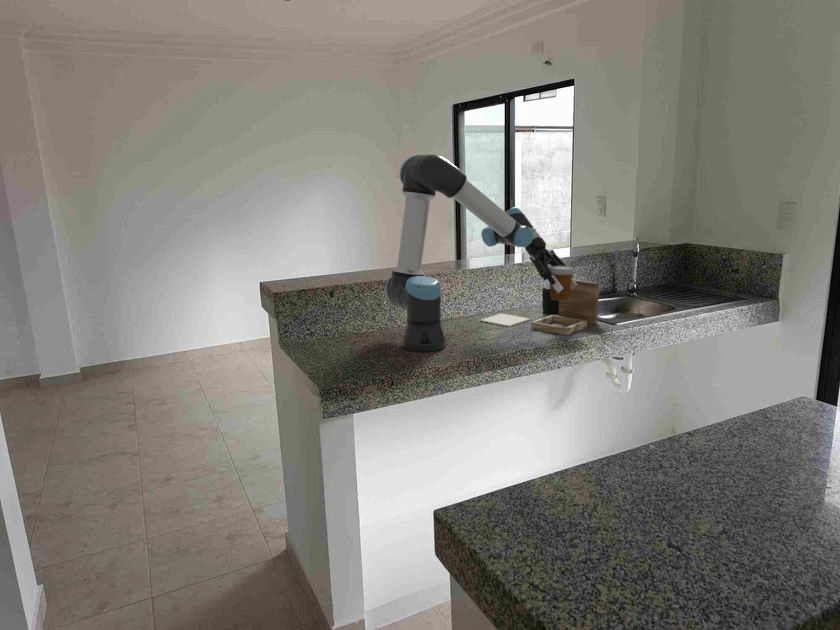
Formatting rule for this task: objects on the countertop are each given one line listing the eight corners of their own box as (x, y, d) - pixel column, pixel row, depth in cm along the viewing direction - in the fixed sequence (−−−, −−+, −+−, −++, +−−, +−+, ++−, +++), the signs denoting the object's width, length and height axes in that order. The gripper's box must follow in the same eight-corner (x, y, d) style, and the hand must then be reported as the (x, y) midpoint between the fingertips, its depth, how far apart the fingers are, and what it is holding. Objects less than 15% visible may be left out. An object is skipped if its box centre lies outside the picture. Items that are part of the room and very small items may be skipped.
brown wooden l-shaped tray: (567, 335, 219) (569, 292, 215) (529, 328, 230) (530, 286, 226) (596, 323, 235) (599, 283, 231) (560, 317, 245) (561, 278, 242)
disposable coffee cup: (544, 300, 224) (546, 268, 221) (548, 296, 233) (549, 264, 230) (571, 302, 221) (573, 269, 219) (573, 297, 230) (575, 266, 227)
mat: (509, 327, 232) (509, 325, 232) (480, 321, 242) (480, 319, 242) (529, 320, 242) (529, 318, 242) (501, 314, 252) (501, 313, 251)
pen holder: (545, 309, 260) (545, 286, 258) (567, 310, 256) (567, 287, 254) (538, 313, 252) (539, 290, 250) (561, 315, 248) (562, 291, 246)
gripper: (522, 238, 221) (558, 286, 214) (554, 233, 236) (589, 278, 229) (509, 251, 226) (545, 299, 219) (541, 246, 241) (575, 290, 234)
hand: (567, 288), depth 224 cm, fingers closed on disposable coffee cup, 9 cm apart
